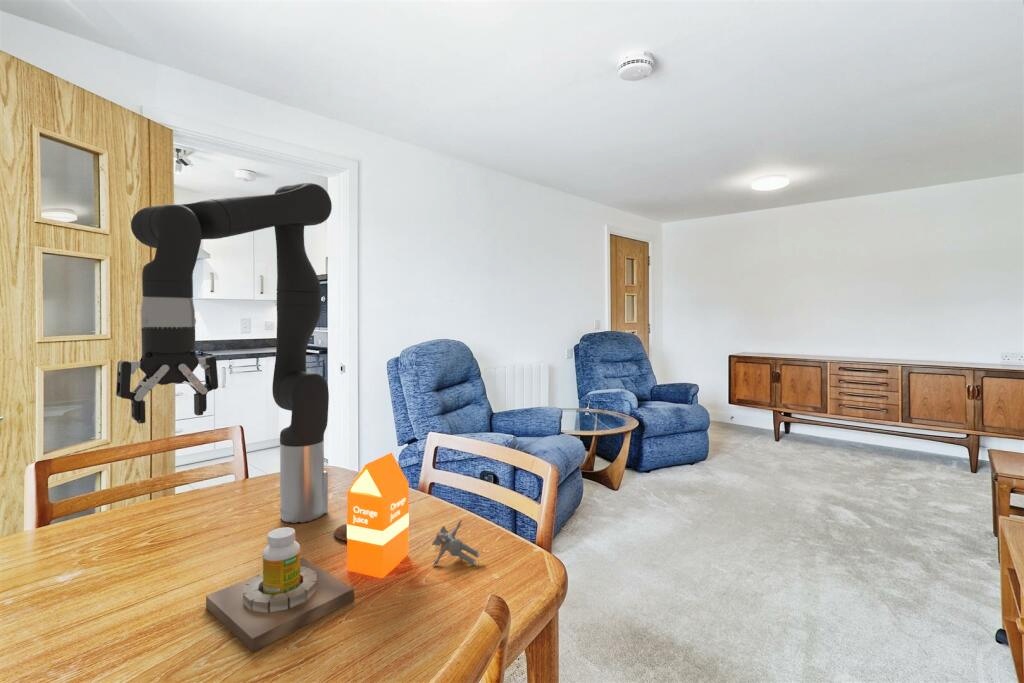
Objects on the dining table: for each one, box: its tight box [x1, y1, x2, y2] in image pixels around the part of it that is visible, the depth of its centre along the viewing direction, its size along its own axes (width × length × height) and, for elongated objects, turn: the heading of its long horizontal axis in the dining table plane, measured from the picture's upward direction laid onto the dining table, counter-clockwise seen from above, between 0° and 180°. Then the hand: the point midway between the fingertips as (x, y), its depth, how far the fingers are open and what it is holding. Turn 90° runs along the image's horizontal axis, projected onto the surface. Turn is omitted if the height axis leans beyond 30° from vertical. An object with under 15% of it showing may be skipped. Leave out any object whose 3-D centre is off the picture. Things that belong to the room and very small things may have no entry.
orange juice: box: [346, 452, 410, 579], centre depth 91 cm, size 8×9×20 cm
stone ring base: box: [205, 557, 355, 653], centre depth 78 cm, size 16×16×4 cm
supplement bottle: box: [262, 526, 301, 595], centre depth 78 cm, size 5×5×10 cm
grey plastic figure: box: [431, 519, 481, 567], centre depth 93 cm, size 10×6×9 cm
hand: (170, 418), depth 84 cm, fingers open, 8 cm apart
